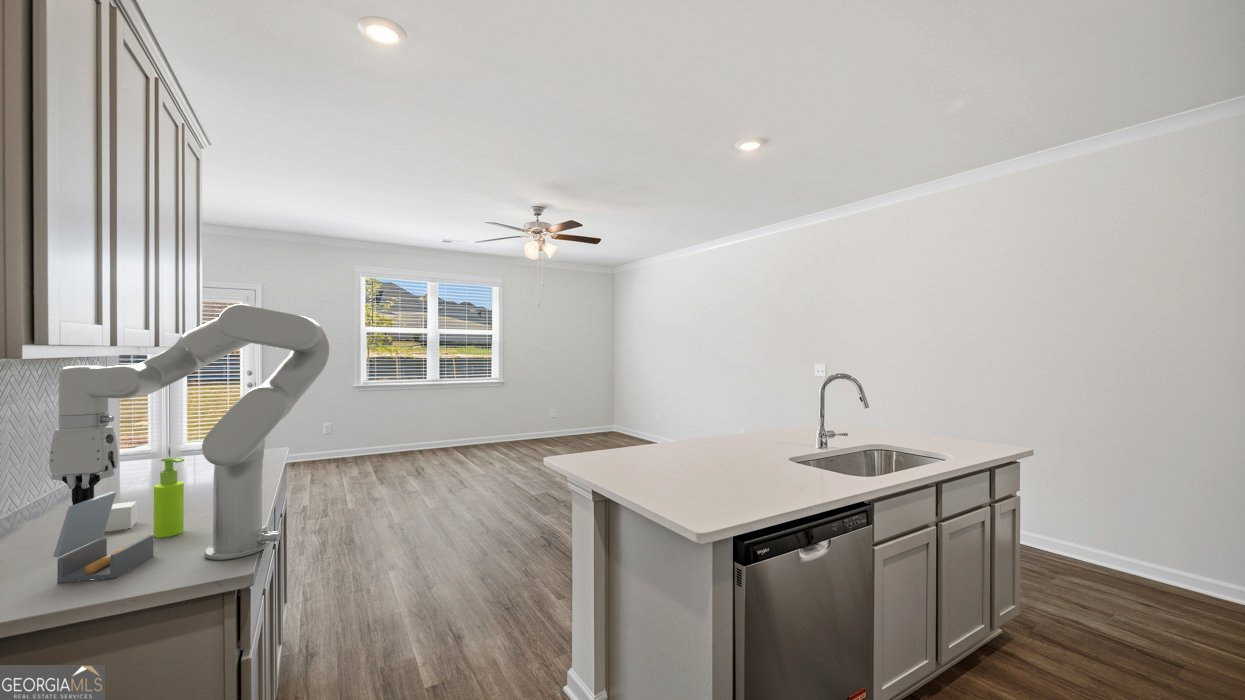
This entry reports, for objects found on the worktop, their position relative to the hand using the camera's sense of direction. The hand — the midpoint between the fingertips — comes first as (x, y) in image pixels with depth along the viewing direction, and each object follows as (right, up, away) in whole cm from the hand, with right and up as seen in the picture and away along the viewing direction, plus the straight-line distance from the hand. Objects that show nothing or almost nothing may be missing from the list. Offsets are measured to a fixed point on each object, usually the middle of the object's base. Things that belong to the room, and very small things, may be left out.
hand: (82, 505), depth 112 cm
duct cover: (+1, -4, 0) cm, 4 cm away
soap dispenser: (-1, -15, +22) cm, 27 cm away
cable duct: (+5, -14, +1) cm, 15 cm away
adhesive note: (-19, -15, +28) cm, 37 cm away
